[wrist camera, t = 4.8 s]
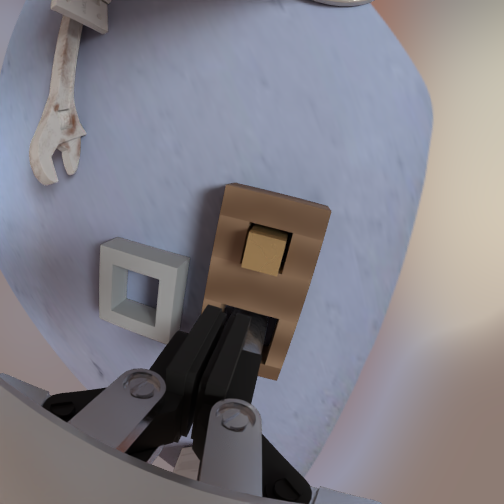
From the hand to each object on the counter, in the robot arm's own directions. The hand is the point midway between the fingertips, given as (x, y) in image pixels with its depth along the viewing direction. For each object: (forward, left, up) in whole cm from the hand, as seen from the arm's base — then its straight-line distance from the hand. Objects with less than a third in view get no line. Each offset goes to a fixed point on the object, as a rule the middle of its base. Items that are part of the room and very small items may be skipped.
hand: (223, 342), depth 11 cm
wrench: (-15, -27, -20) cm, 37 cm away
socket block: (+5, 0, -19) cm, 20 cm away
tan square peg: (0, 0, -19) cm, 19 cm away
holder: (+9, -12, -19) cm, 24 cm away
